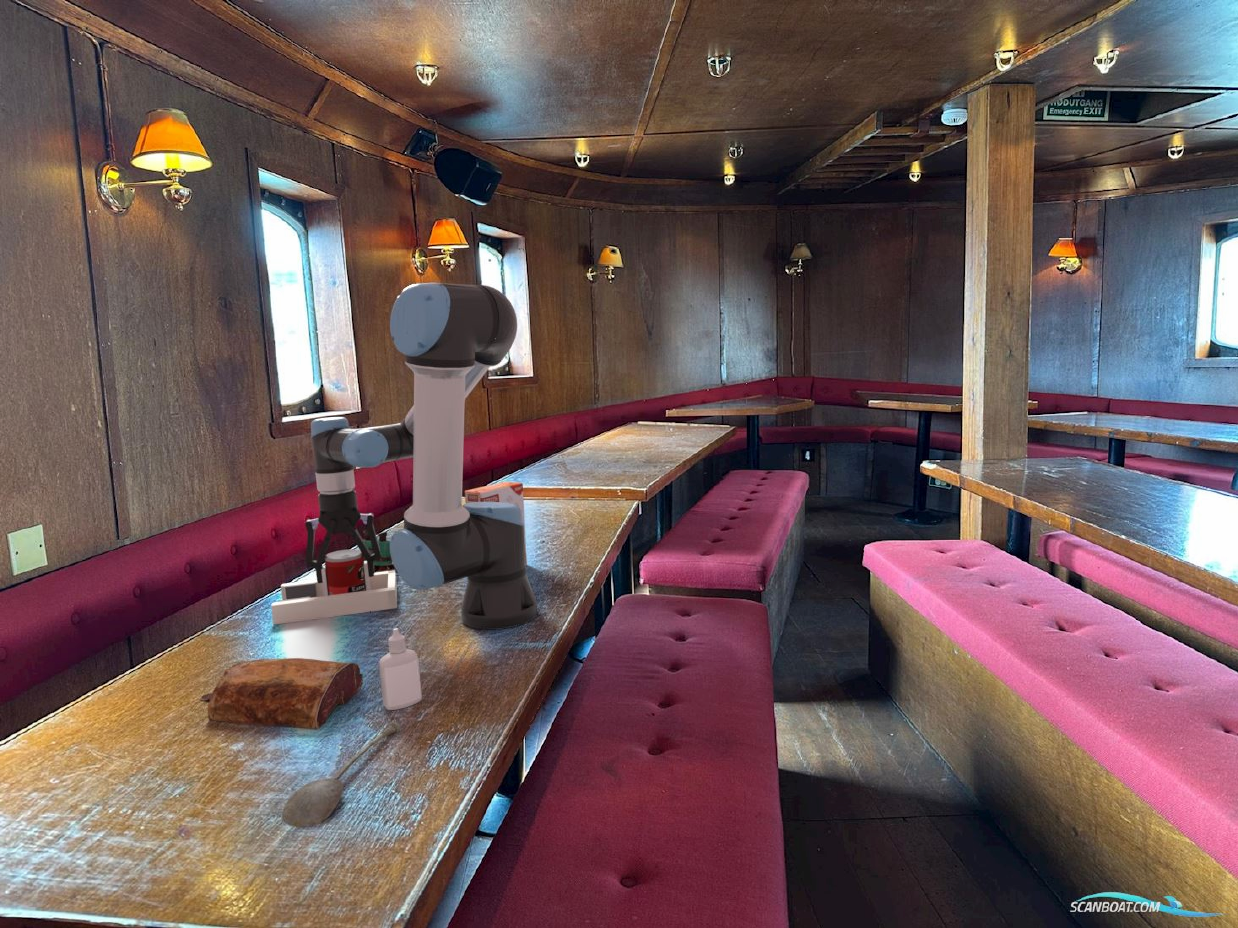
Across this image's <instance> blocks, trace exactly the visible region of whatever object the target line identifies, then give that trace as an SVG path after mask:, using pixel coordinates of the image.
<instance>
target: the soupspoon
mask: <svg viewBox="0 0 1238 928" xmlns="http://www.w3.org/2000/svg"><path fill="white" fill-rule="evenodd" d="M400 731H401V727H400V725H399V723H398V722H396V721H395V722H390V723H389V725H388V727H387V728H385V730H383V731H381V732H380V734H379V735H377V736H376V737H375V738H373V739H372V740H371V741H369V742H368V743H367V744H366V745H365V746H363V748H361V749H360V750H359V751H358V752H357V753H355V755H353V756H352V757H351V758H350V759H349V760H348V761H346V763H344V764H343V765H342V766H341V767H340V769H338V770H337V771H336V772H335V774H334V775H333V776H331V777H330V778H322V779H321V778H320V779H317V780H313V781H310V782H309V783H306V784H304V785H302V786H301V787H299V788H298V789H297V790H296V791H294V793H292V794H291V796H289V798H288V800H287V801H286V803H285V804H284V806H283V808H282V811H281V812H282V813H281V818H282V822H283V823H285V824H287V825H288V826H293V827H309V826H311V827H312V826H315V825H319V824H322V823H324V822H325V821H326V820H327V819H328V818H329V817H330V815H332V813H333V812H334V810H335V809H336V808H337V806H338V804H339V802H340V800H341V798H342V796H343V793H344V784H343V782H342V780H340V778H342V776H343V775H344V773H346V771H347V770H348V769H349V768H350V767H351V766H352V765H353V764H354V763H355V762H356V761H357V760H359V758H360V757H362V755H364V754H365V753H366V752H367V751H368V750H369V749H371V747H373V746H374V745H375V744H376V743H377V742H379V741H380V740H381V739H385V738H386V737H388V736H389V735H392V734H394V733H397V732H400Z"/></svg>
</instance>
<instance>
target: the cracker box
mask: <svg viewBox="0 0 1238 928" xmlns="http://www.w3.org/2000/svg"><path fill="white" fill-rule="evenodd" d="M523 485H524V484H523V483H522V482H518V481H503V482H499V483H493V484H490V485H486V486H480V487H475V488H472V489H468V490H467V489H466V490H464V498H465V500H464V501H465V504H466V503H472V502H502V503H510V504H514V505H517V506H518V507H519V508H520V509H521V512H522V520H523V524H524V544H525V561H526V566H527V565H528V561H527V544H526V543H527V542H526V521H525V520H526V519H525V505H524V486H523Z"/></svg>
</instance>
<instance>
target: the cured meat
mask: <svg viewBox="0 0 1238 928" xmlns="http://www.w3.org/2000/svg"><path fill="white" fill-rule="evenodd" d="M363 682H364V677H363V673H361V669H360V666H359V664H358V663H355V662H343V661H331V660H328V661H327V660H321V659H314V658H313V659H312V658H303V657H289V658H260V659H253V660H245V661H239V662H237V663H235V664H233V665H231V667H229V668H228V669H226V670H225V671H224V673H223V675H222V676H221V678H220V679H219V681H218V682H217V684H216V686H215V688H213V691H212V692H209V693H207V694H204V695H201V696H200V697H199V698H200V699H199V700H200V701H201V702H202V701H207V702H208V705H207V711H206V713H207V718H208V720H209V721H215V722H227V723H232V724H242V725H250V726H252V725H253V726H284V727H295V728H301V729H302V728H303V729H313V730H319V729H320V728H321V727H323V726H324V725H325V724H326V722H327V719H328V717H329V715H330V714H332V712H333V711H334V710H335V708H336V707H337V705H344V706H345V705H346V704H348V702H349V701H351V700H352V698H353V697H355V695H357V694H358V693H359V691H360V690H361V688H362V686H363Z"/></svg>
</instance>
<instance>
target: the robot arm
mask: <svg viewBox="0 0 1238 928" xmlns="http://www.w3.org/2000/svg"><path fill="white" fill-rule="evenodd" d="M389 318H390V319H389V329H390V330H389V331H390V337H391V338H392V339H394V340H393V344H394V347H395V348H396V350H397V351H399V353H401V354H403V355H404V364H405V365H406V366H407V367H408V368H409V369H410V370H411V371H412V372H413V380H414V381H413V406H412V407H411V408H410V410H409V411H408V412H407V414H406V415H405V416H404V418H403V419H402V421H401V422H399V423H395V424H394V423H392V424H386V425H379V426H371V427H369V426H368V427H363V428H362V427H361V428H351V427H350V423H349V420H348V419H347V418H346V417H345V416H333V417H322V418H316V419H313V420H312V421H311V423H310V431H311V432H310V434H311V435H310V441H311V447H312V452H313V453H312V454H313V461H314V469H315V473H314V474H315V480H316V488H317V489H316V490H317V492H320V493H318V495H317V497H318V498H317V499H318V506H319V516H318V518H314V519H306V522H305V524H304V525H305V529H306V531H307V537H306V538H307V539H306V552H305V553H306V554H305V567H306V568H313V569H314V570H315V575H316V580H317V582H318V583H323V589H324V596H329V593H328V585H327V576H326V568H325V565H323V563H324V561H325V556H326V555H327V554H326V553H327V551H328V548H329V545H330V542H331V539H332V536H337V535H340V534H343V535H348V534H349V535H350V536H351V538H352V539H353V541H354V543H355V544H356V545H357V547H358V550H360V551H361V552H362V554H363V556H364V557H365V559H366V561H364V573H365V582H366V591H368V590H371V587H370V577H373V576H374V573H375V571H374V563H373V562H374V561H375V560H377V559H380V558H381V550H380V547H379V543H378V538H377V537H378V535H377V533H376V531H375V530H376V529H375V527H374V513H373V512H368V513H361V512H360V511H359V507H358V501H357V491H356V490H355V487H356V482H355V481H356V480H355V472H354V468H360V469H365V468H376V467H378V466H379V465H381V464H383V463H387V462H392V461H393V462H394V461H398V460H405V459H411V458H412V460H413V463H412V464H413V465H412V466H413V468H412V475H413V477H412V481H413V482H412V505H410V507H409V508H408V509H407V510H405V511H404V513H403V528H400V529H397V531H395V532H393V534H392V536H391V537H390V540H389V541H390V554H391V558H392V564H394V567H395V569H394V570H395V572H397V574H398V575H399V577H400V579H402V581H403V582H404V583H405V584H406V585H407V586H409V587H411V588H412V589H414V590H417V591H426V590H429V589H433V588H441V587H443V586H444V585H446V584H449V583H452V582H456V581H458V580H461V579H465V578H467V579H466V580H467V582H466V587H465V592H464V595H463V599H462V604H461V607H460V608H461V609H460V613H461V615H460V616H461V622H462V623H463V624H464V625H466V626H467V627H470V628H474V629H480V630H500V629H506V628H507V629H508V628H513V627H516V626H521V625H523V624H526V623H528V622H530V621H532V620H533V619H534V618H536V617H537V615H538V610H539V609H538V601H537V598H536V595H535V593H534V590H533V588H532V586H531V584H530V581H529V579H528V575H527V567H526V566H527V565H526V561H525V544H524V524H523V520H522V512H521V509H520V508H519V507H518V506H517V505H514V504H510V503H502V502H472V503H466V502H465V503H464V504H463V503H462V502H463V478H464V477H463V470H464V443H465V442H464V441H465V440H464V438H465V436H464V435H465V431H464V430H465V406H466V405H465V404H466V401H465V400H466V398H468V397H469V394H470V393H471V392H472V391H473V389H474V388H475V387H476V385H477V384H478V383H479V382H480V381H481V380H482V378H483V377H484V376H485V374H486V373H487V371H488V370H489V369H490V367H495V366H498V365H500V363H501V362H502V361H503V359H505V357H506V356H507V355H508V353H509V352H510V350H511V348H512V346H513V345H514V343H515V340H516V336H517V332H518V318H517V313H516V310H515V308H514V306H513V304H512V302H511V301H510V300H509V298H508V297H507V296H506V295H505V294H504V293H502V292H501V291H500V290H499V289H497V288H494V287H492V286H489V285H486V284H485V285H484V284H460V283H459V284H458V283H441V282H440V283H439V282H425V283H416V284H415V283H413V284H411V285H409V286H407V287H405V288H404V289H403V290H401V292H400V294H399V295H398V296H397V297H396V299H395V301H394V303H393V306H392V309H391V313H390V317H389ZM360 520H362V522H363V524H364V525H366V529H367V530H368V534H369V537H370V541H371V544H372V548H373V551H374V553H373V554H371V553H370V551H369V549H368V548H367V546H366V544H365V543H364V541H363V540H364V539H363V538H362V536H361V534H360V533H359V531H358V529H357V527H356V526H357V524H358V523H359V521H360ZM318 524H320V526H322V527H323V529H325V531H326V533H325V536H324V539H323V541H322V544H321V547H320V550H319V552H318V553H319V554H318V556H317V560H314V554H315V553H314V551H315V537H316V530H317V529H318Z"/></svg>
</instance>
